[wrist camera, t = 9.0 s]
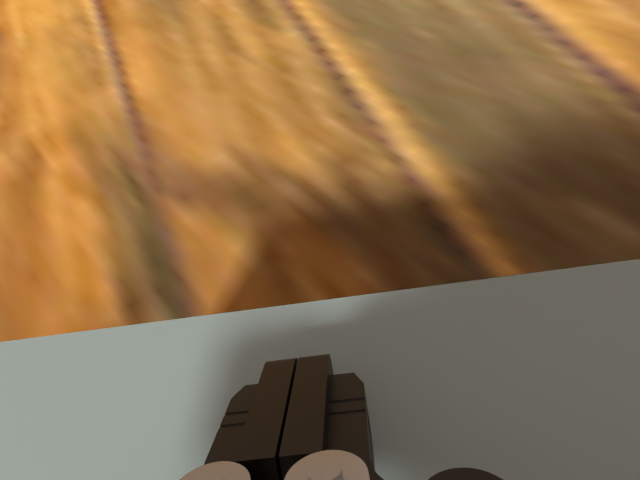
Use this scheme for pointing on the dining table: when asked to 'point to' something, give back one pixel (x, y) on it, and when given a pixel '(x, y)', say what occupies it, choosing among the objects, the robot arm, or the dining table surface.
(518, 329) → the lid
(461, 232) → the dining table surface
